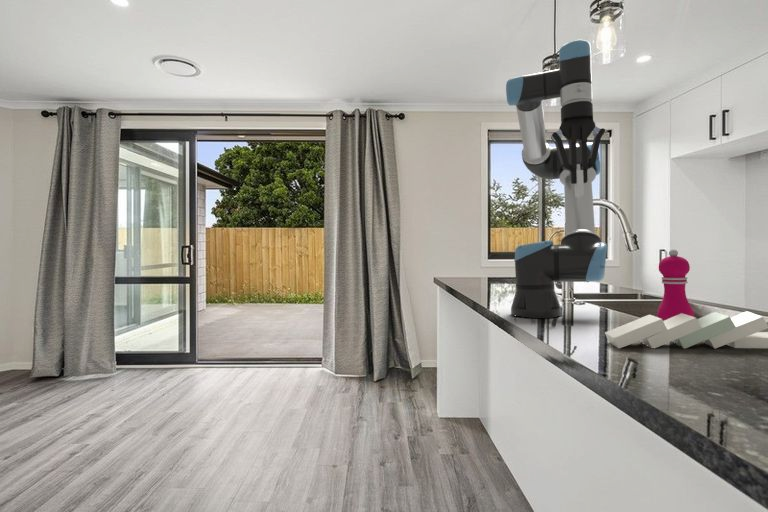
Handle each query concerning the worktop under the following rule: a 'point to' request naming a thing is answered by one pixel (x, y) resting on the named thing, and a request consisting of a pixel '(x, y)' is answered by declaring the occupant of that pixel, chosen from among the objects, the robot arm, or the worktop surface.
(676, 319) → the tile
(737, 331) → the tile
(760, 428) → the worktop surface
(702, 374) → the worktop surface
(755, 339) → the tile
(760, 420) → the worktop surface
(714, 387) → the worktop surface
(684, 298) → the pepper mill
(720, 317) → the tile
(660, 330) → the tile
